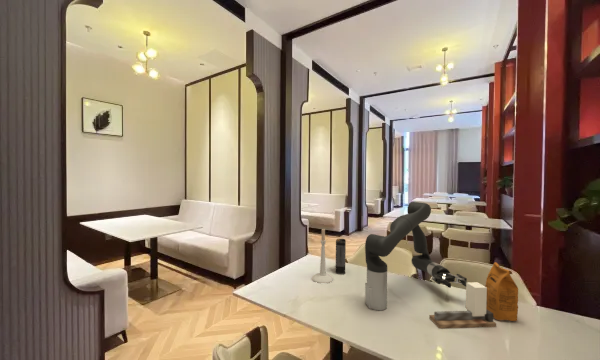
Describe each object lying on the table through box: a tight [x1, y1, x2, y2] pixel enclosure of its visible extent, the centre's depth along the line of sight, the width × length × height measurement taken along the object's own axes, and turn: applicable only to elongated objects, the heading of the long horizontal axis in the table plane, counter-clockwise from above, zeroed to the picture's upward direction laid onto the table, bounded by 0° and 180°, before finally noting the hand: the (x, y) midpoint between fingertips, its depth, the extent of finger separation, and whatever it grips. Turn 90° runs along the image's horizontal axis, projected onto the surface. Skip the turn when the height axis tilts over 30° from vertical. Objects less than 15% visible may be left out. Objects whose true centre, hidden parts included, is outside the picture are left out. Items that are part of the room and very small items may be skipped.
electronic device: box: [335, 238, 347, 275], centre depth 159 cm, size 9×6×20 cm, turn 168°
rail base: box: [429, 309, 497, 329], centre depth 105 cm, size 24×7×5 cm, turn 93°
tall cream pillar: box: [465, 281, 487, 316], centre depth 105 cm, size 5×5×12 cm
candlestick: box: [311, 228, 335, 284], centre depth 147 cm, size 13×13×30 cm
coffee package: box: [485, 261, 519, 322], centre depth 111 cm, size 10×12×22 cm
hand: (459, 285), depth 115 cm, fingers open, 8 cm apart
